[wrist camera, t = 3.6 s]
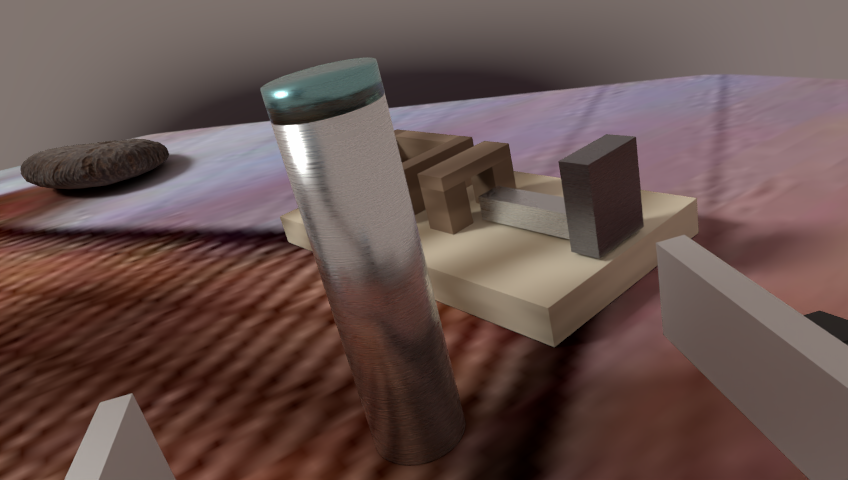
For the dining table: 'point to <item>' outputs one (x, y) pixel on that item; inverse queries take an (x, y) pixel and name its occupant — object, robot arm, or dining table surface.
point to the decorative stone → (93, 163)
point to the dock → (514, 240)
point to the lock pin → (580, 199)
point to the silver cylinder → (369, 253)
